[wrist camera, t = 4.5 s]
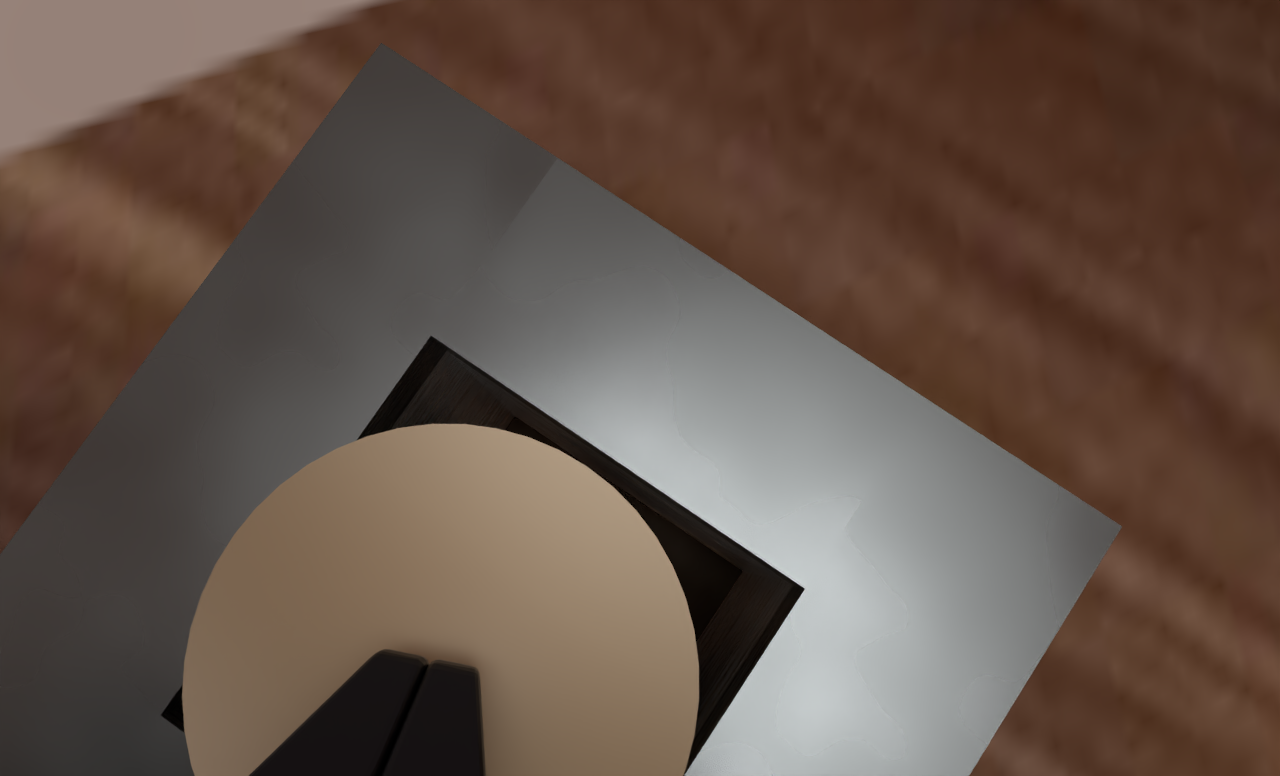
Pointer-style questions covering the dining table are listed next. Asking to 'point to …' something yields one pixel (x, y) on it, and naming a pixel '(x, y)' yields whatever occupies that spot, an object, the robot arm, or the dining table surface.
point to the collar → (572, 419)
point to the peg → (450, 605)
